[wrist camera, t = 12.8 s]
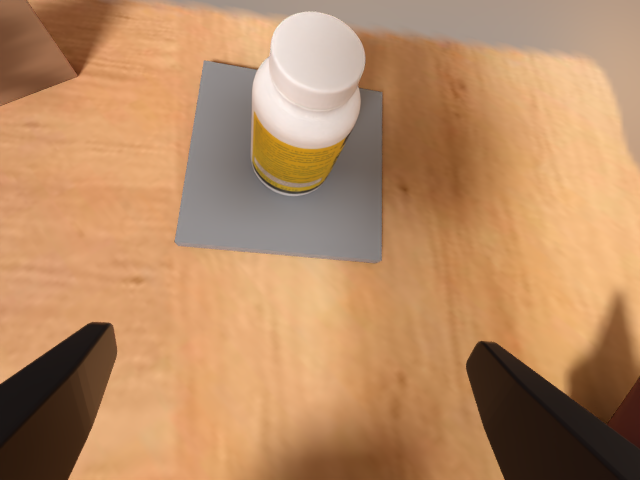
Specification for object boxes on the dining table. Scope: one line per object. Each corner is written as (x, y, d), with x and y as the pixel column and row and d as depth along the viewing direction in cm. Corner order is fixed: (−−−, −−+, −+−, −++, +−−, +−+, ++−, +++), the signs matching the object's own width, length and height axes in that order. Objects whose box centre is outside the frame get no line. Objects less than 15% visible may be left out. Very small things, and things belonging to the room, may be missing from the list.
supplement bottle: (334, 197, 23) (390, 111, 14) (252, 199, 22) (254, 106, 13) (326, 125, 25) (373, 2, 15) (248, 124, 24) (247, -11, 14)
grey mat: (376, 263, 24) (381, 260, 23) (177, 245, 22) (174, 242, 21) (377, 100, 27) (382, 92, 26) (205, 70, 25) (204, 60, 24)
